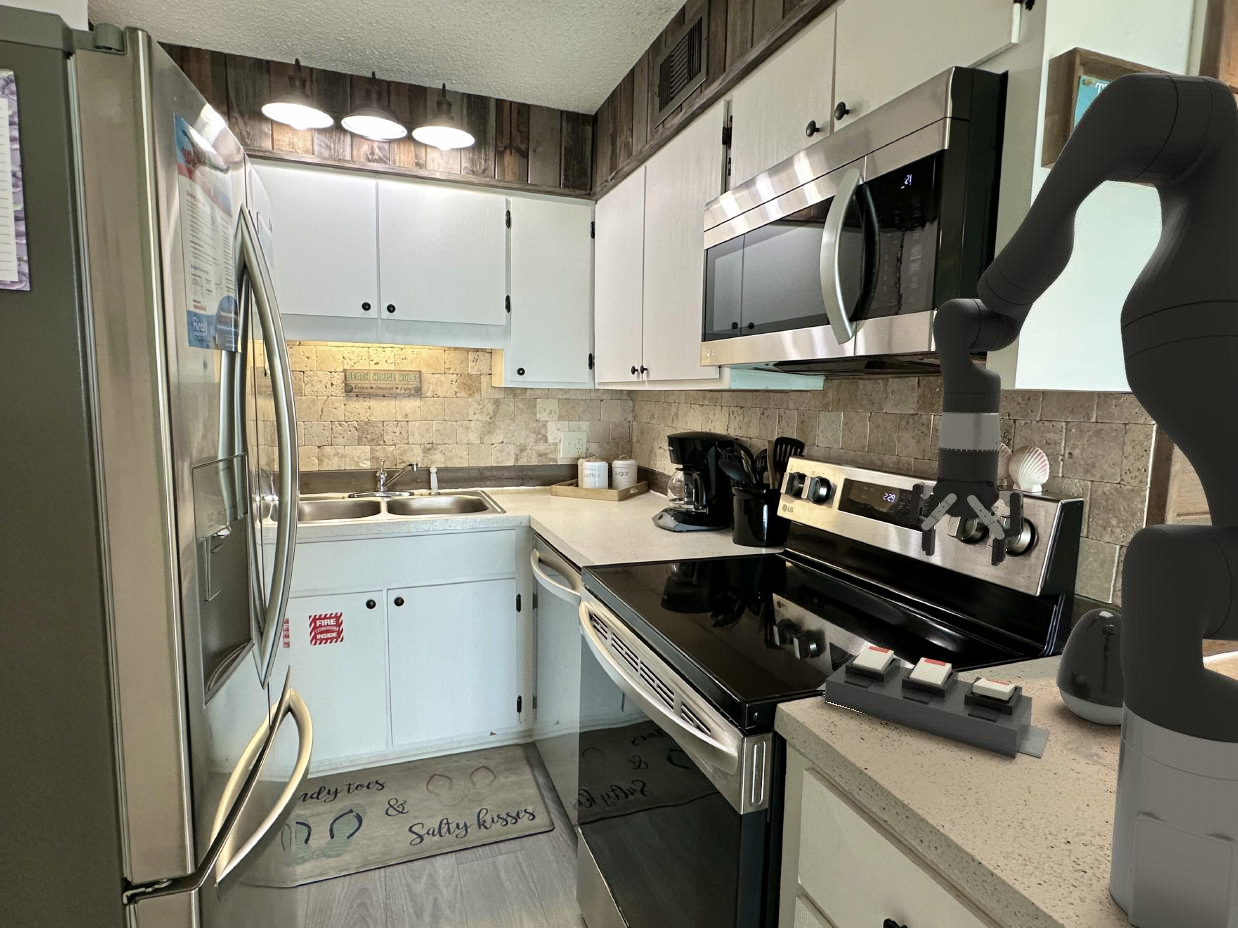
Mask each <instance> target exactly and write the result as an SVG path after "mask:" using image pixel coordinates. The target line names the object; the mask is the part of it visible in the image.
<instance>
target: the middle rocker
mask: <svg viewBox="0 0 1238 928" xmlns="http://www.w3.org/2000/svg"><path fill="white" fill-rule="evenodd" d="M917 663H918V664H917ZM917 663H916V664H917V666H916V667H915V669H914V671H913V672H912V674H911V675H910V680H914V681H918V682H922V683H926V684H930V685H934V686H938V687H943V685H944V683H945V681H946V679H947V677H948V676H949V674H950V672H951V671H952V663H947V662H944V661H940V660H935V659H930V658H926V657H921V658H920V660H919V661H918V662H917Z"/></svg>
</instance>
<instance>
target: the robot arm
mask: <svg viewBox="0 0 1238 928" xmlns="http://www.w3.org/2000/svg"><path fill="white" fill-rule="evenodd" d="M1237 103H1238V102H1237V99H1236V96H1235V94H1234V92H1233V90H1232V89H1231V88H1230V86H1229V85H1228V84H1227V83H1226V82H1224V81H1222V80H1220V79H1217V78H1214V77H1210V76H1206V75H1192V74H1179V73H1177V74H1175V73H1163V72H1162V73H1160V72H1134V73H1133V72H1132V73H1127V74H1123V75H1121V76H1119V77H1116V78H1115V79H1112V80H1111V81H1110V82H1109V83H1107V85H1106V86H1104V87H1103V88H1102V90H1100V92H1098V94H1096V96H1095V97H1094V98H1093V100H1092V101H1091V102H1090V104H1089V105H1087V108H1086V109H1085V110H1084V112H1083V113H1082V115H1081V117H1080V119H1078V121H1077V123H1076V125H1075V127H1073V130H1072V131H1071V133H1070V135H1069V137H1068V139H1067V140H1066V142H1065V144H1064V146H1063V148H1062V150H1061V151H1060V153H1059V155H1058V156H1057V158H1056V159H1055V162H1054V163H1053V166H1052V167H1051V169H1050V171H1049V173H1048V174H1047V176H1046V178H1045V180H1044V181H1043V183H1042V186H1041V187H1040V189H1039V191H1038V193H1037V195H1036V197H1035V199H1034V201H1033V203H1032V204H1031V207H1030V208H1029V210H1028V212H1027V214H1026V215H1025V217H1024V218H1023V220H1022V222H1021V224H1020V225H1019V226H1018V228H1017V229H1016V231H1015V232H1014V234H1013V235H1012V236H1011V238H1010V239H1009V240H1008V242H1007V243H1006V244H1005V246H1004V247H1003V248H1002V249H1001V251H999V253H998V255H997V256H996V257H995V258H994V259H993V261H992V262H991V263H990V264H989V266H988V267H987V268H986V269H985V270H984V272H983V273H982V274H981V277H980V279H978V280H979V281H978V282H977V286H976V292H977V296H978V298H952V299H949V300H947V301H945V302H944V303H942V304H941V306H939V308H938V309H937V311H936V313H935V316H934V318H933V321H932V337H933V341H934V346H935V349H936V352H937V353H936V354H937V357H938V361H939V368H940V371H941V375H942V382H943V394H942V396H943V397H942V411H941V412H942V413H941V419H940V424H939V432H938V433H939V437H938V451H937V453H938V454H937V469H936V470H937V473H936V482H935V484H934V485H932V484H926V483H925V482H923V481H922V482H917V483H915V484H913V485H912V488H911V489H912V490H911V497H910V503H909V504H910V505H909V514H908V522H909V523H910V524H911V525H916V526H918V527H919V528H920V529H921V547H920V549H921V550H922V552H925V556H927V557H932V556H934V555H935V552H936V537H937V536H936V535H937V534H936V533H937V529H936V528H935V527H936V526H937V524H938V523H939V522H941V520H942V519H943V518H945V516H946V515H948V516H950V518H966V519H968V520H978V519H980V520H981V521H982V522H983V523H984V525H985V526H986V527H987V528H988V529H989V530H990V532H991V533H992V534H993V536H994V538H993V539H992V543H991V558H990V559H991V561H990V566H993V567H998V566H1000V565H1001V563H1003V562H1004V561H1005V559H1006V557H1007V541H1008V539H1009V538H1016V537H1020V535H1021V534H1023V533H1024V527H1025V524H1024V523H1025V522H1024V521H1025V520H1024V519H1025V517H1024V516H1025V515H1024V513H1025V512H1024V507H1025V506H1024V505H1025V504H1024V495H1025V494H1024V492H1023V491H1022V490H1019V489H1018V490H1015V491H1005V490H1004V491H1001V490H1000V489H999V486H998V472H999V461H1000V460H999V457H1000V446H1001V444H1002V443H1001V442H1002V441H1001V440H1002V439H1001V424H1000V423H1001V422H1000V421H1001V420H1000V409H1001V408H1000V406H1001V391H1002V388H1001V387H1002V380H1001V375H1000V374H999V373H998V372H997V371H995V370H992V369H988V368H984V367H980V366H977V365H976V364H975V363H974V361H973V359H972V357H971V354H970V352H989V353H990V352H997V351H1001V350H1003V349H1005V348H1007V347H1009V346H1010V345H1012V344H1013V343H1014V342H1015V341H1016V340H1017V339H1018V337H1019V336H1020V332H1021V330H1022V328H1023V325H1024V323H1025V321H1026V320H1027V317H1028V315H1029V314H1030V312H1031V309H1032V307H1033V305H1034V303H1035V302H1036V301H1038V299H1039V298H1041V296H1042V295H1043V294H1045V292H1046V291H1047V289H1049V288H1050V287H1051V286H1052V285H1053V284H1054V283H1055V282H1056V281H1057V279H1058V278H1059V277H1060V276H1061V275H1062V273H1063V272H1064V271H1065V269H1066V268H1067V266H1068V264H1069V262H1070V260H1071V257H1072V254H1073V251H1074V244H1075V235H1076V234H1075V233H1076V231H1075V230H1076V229H1075V228H1076V227H1075V226H1076V217H1077V213H1078V212H1077V211H1078V210H1079V208H1080V206H1081V204H1082V203H1083V202H1084V201H1085V200H1086V199H1087V198H1088V197H1089V196H1090V194H1091V193H1093V192H1094V191H1095V190H1096V189H1097V188H1099V186H1101V185H1102V184H1103V183H1104V182H1107V181H1108V182H1116V183H1117V182H1118V183H1120V182H1121V183H1132V184H1133V183H1136V184H1137V183H1138V184H1152V185H1153V186H1154V188H1155V189H1156V191H1157V195H1158V198H1159V205H1160V211H1161V212H1160V217H1161V230H1160V236H1159V240H1158V242H1157V245H1156V247H1155V249H1154V251H1153V252H1152V253H1151V254H1152V255H1151V256H1150V258H1149V259H1148V261H1147V262H1146V264H1145V266H1144V267H1143V268H1142V270H1141V271H1140V273H1139V275H1138V276H1137V278H1136V280H1135V281H1134V282H1133V284H1132V286H1131V288H1130V290H1129V292H1128V294H1127V295H1126V298H1125V299H1124V302H1123V304H1122V308H1121V312H1120V318H1119V319H1120V334H1121V343H1122V344H1121V345H1122V353H1123V354H1122V355H1123V361H1124V363H1123V364H1124V370H1125V377H1126V381H1127V384H1128V386H1129V387H1128V388H1130V390H1131V393H1132V394H1133V395H1134V397H1135V398H1136V400H1137V401H1138V403H1139V404H1140V406H1141V407H1142V408H1143V409H1144V410H1145V412H1146V413H1147V414H1148V415H1149V417H1150V418H1151V419H1152V420H1153V421H1154V422H1155V424H1156V425H1157V426H1158V427H1159V428H1160V429H1161V430H1162V431H1163V433H1165V435H1166V436H1167V437H1168V438H1169V439H1170V440H1171V441H1172V443H1174V445H1175V446H1176V447H1177V448H1178V449H1179V450H1180V452H1181V453H1182V454H1183V455H1184V456H1185V457H1186V459H1187V461H1188V462H1189V463H1190V465H1191V467H1192V468H1193V470H1194V471H1195V474H1196V475H1197V477H1198V479H1199V482H1200V483H1201V486H1202V487H1201V488H1202V489H1203V490H1202V491H1203V492H1204V495H1205V499H1206V502H1207V506H1208V510H1209V516H1210V521H1211V525H1209V524H1207V525H1206V524H1180V523H1179V524H1178V523H1177V524H1174V523H1173V524H1172V523H1167V524H1166V523H1165V524H1164V523H1163V524H1152V525H1148V526H1144V527H1142V528H1141V529H1139V530H1138V531H1137V532H1135V534H1134V535H1133V536H1132V537H1131V539H1130V540H1129V542H1128V544H1127V547H1126V549H1125V552H1124V553H1125V554H1124V556H1123V559H1122V560H1123V561H1122V569H1121V580H1120V582H1121V583H1120V584H1121V585H1120V588H1121V589H1120V604H1121V605H1120V615H1121V644H1120V659H1121V667H1122V673H1123V679H1124V701H1123V713H1122V724H1121V727H1120V738H1119V748H1118V749H1119V752H1118V763H1117V765H1118V766H1117V776H1116V789H1115V790H1116V791H1115V802H1114V803H1115V804H1114V814H1113V815H1114V816H1113V817H1114V818H1113V828H1112V839H1111V841H1112V842H1111V844H1112V845H1111V859H1110V870H1109V871H1110V873H1109V885H1108V888H1109V890H1110V891H1109V892H1110V894H1111V896H1112V898H1113V899H1114V900H1115V902H1116V904H1118V906H1119V907H1120V908H1122V910H1123V911H1124V912H1125V913H1126V914H1127V922H1128V923H1129V924H1131V925H1133V926H1136V927H1138V928H1238V679H1235V678H1233V677H1231V676H1228V675H1225V674H1223V673H1220V672H1218V671H1216V670H1212V669H1209V668H1207V667H1205V664H1204V652H1203V640H1210V641H1225V642H1227V641H1228V642H1229V641H1230V642H1231V641H1232V642H1238V104H1237ZM931 494H932V495H933V497H934V498H935V499H936V501H937V502H938V503H939V505H937V507H935V509H934V510H933V511H932V512H931V513H930V515H929V516H928V517H924V516H923V515H924V508H925V507H924V506H925V500H927V499H928V498H929V497H930V495H931ZM999 500H1002V501H1003V505H1004V506H1005V507H1007V508H1009V526H1008V527H1006V526H1005V524H1003V522H1002V521H1001V519H1000V518H1001V517H1000V516H999V514H998V513H997V512H996V510H995V509H994V508H993V507H994V506H995V504H996V503H997V502H998V501H999Z"/></svg>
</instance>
